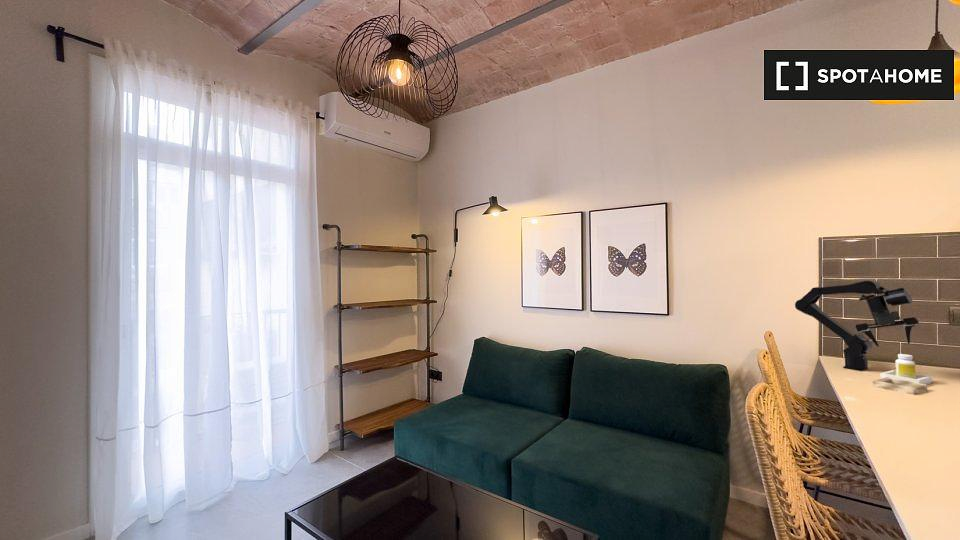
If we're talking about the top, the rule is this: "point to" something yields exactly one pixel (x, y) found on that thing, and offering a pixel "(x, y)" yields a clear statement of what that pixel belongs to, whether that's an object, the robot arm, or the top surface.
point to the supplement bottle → (905, 366)
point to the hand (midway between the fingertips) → (893, 345)
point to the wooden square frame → (900, 385)
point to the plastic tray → (918, 378)
